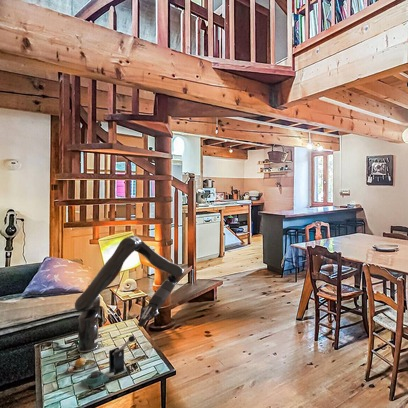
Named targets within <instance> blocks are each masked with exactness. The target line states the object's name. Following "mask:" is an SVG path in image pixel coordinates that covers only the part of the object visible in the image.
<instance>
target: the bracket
mask: <svg viewBox="0 0 408 408" xmlns="http://www.w3.org/2000/svg"><path fill="white" fill-rule="evenodd" d="M116 349H117V350H119V349H120V346H119V347H115V348H113V349H110V350H109V351H108V371H109V372H108V373H109V374H112V373H113V375H114V376H117V375H118V374H121V373H122V372H124V371H125V348H124V349H121V350H119V351H117V352H114V351H115V350H116ZM113 352H114V356H113V355H112V353H113Z"/></svg>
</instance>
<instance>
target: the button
mask: <svg viewBox="0 0 408 408" xmlns="http://www.w3.org/2000/svg"><path fill="white" fill-rule="evenodd" d="M100 372H101V371H99V370H95V371H93V372H91V373H90V375H91V378H97V377H99V376H100Z"/></svg>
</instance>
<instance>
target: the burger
mask: <svg viewBox="0 0 408 408" xmlns="http://www.w3.org/2000/svg"><path fill="white" fill-rule="evenodd" d="M91 364H93V365H92V366H90V367H88V368H86V367H87V366H89V365H91ZM96 364H97V362H96V360H95V359H86V358H83V357H79V358H77V359H76V360H75V362H74V363H72V364H70V365H69V366H68V367H67V369H66V373H67V374H77V373H81V372H84V371H85V372H86V371H88V370H89V369H91V368H93V367H94V366H95V365H96ZM81 369H82V370H81ZM77 370H79V371H77Z"/></svg>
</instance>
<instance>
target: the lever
mask: <svg viewBox="0 0 408 408" xmlns="http://www.w3.org/2000/svg"><path fill="white" fill-rule="evenodd" d="M135 341H136V336H135V335H130V336H129V337H128V339H127V341H125V343H124V344H122V346H121V347H119V350H121V349H124V350H125V349H126V348H127V346H128V345H130V343H134V342H135ZM119 350H117V349H116V350H115V351H114V352H117V351H119ZM114 352H113V353H112V355H113V356H114Z"/></svg>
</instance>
